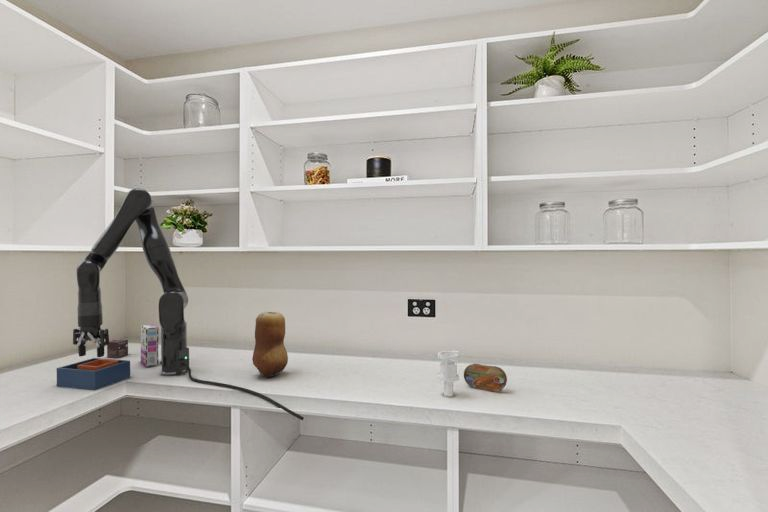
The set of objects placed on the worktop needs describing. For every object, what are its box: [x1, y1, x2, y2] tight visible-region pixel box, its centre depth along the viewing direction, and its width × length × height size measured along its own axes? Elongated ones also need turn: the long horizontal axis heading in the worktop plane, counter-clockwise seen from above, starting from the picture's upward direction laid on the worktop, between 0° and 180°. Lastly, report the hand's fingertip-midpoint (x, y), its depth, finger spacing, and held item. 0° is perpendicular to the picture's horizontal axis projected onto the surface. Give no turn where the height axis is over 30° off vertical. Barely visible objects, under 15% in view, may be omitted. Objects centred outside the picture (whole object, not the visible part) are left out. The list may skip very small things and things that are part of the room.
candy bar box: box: [140, 324, 159, 368], centre depth 175 cm, size 11×5×16 cm, turn 42°
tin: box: [463, 363, 508, 393], centre depth 141 cm, size 15×3×8 cm, turn 56°
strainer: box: [437, 350, 460, 397], centre depth 136 cm, size 7×7×15 cm
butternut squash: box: [252, 311, 289, 379], centre depth 158 cm, size 14×13×25 cm
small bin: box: [77, 358, 119, 371], centre depth 151 cm, size 9×9×6 cm
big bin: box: [56, 357, 131, 391], centre depth 151 cm, size 18×15×7 cm
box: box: [106, 338, 129, 359], centre depth 188 cm, size 6×6×7 cm
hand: (91, 356), depth 151 cm, fingers open, 8 cm apart
